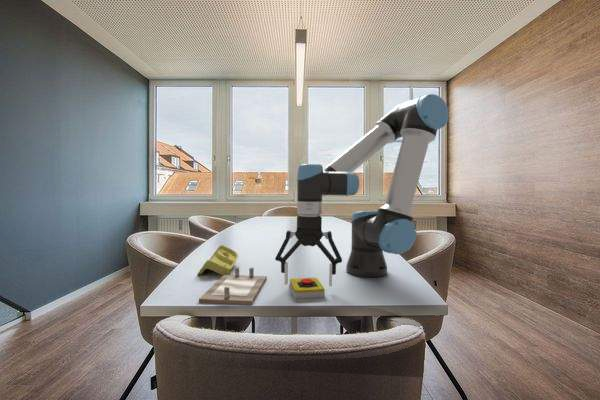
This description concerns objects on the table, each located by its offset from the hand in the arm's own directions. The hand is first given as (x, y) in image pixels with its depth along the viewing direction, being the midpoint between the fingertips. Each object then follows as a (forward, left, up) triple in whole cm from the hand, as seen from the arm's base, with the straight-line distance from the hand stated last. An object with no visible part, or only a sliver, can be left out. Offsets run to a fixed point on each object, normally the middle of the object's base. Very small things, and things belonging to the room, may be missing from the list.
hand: (308, 284), depth 97 cm
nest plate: (+22, 0, -2) cm, 23 cm away
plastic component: (+35, -22, -3) cm, 41 cm away
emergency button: (+1, 0, -3) cm, 3 cm away
